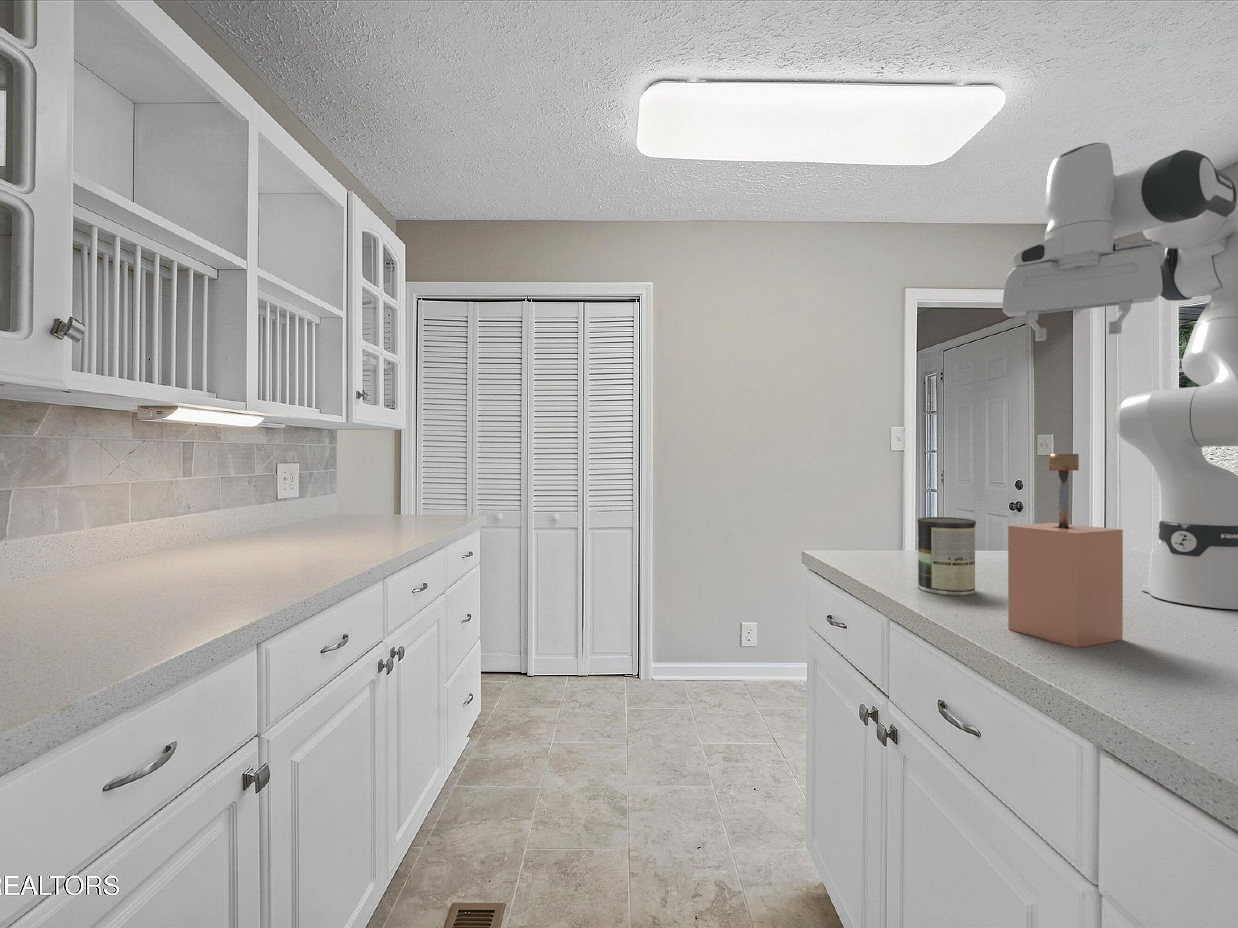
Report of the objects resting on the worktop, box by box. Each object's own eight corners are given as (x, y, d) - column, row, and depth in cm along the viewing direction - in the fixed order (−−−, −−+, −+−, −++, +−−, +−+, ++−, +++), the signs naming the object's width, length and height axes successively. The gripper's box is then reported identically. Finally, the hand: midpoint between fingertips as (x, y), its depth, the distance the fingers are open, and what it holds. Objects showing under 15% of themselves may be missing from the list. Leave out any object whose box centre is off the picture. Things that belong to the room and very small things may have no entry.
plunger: (1054, 536, 96) (1054, 454, 96) (1109, 542, 89) (1109, 453, 89) (1020, 539, 93) (1020, 454, 93) (1073, 546, 86) (1073, 454, 86)
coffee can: (906, 588, 124) (906, 518, 124) (936, 582, 129) (936, 515, 129) (957, 598, 115) (956, 523, 115) (986, 591, 120) (986, 520, 120)
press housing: (1052, 622, 98) (1052, 522, 98) (1122, 639, 89) (1122, 529, 88) (1008, 629, 94) (1008, 525, 94) (1077, 647, 85) (1077, 533, 85)
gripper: (1162, 243, 94) (1160, 333, 94) (1004, 266, 105) (1003, 346, 105) (1168, 230, 88) (1167, 325, 88) (1002, 256, 100) (1000, 340, 100)
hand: (1076, 337), depth 97 cm, fingers open, 8 cm apart
